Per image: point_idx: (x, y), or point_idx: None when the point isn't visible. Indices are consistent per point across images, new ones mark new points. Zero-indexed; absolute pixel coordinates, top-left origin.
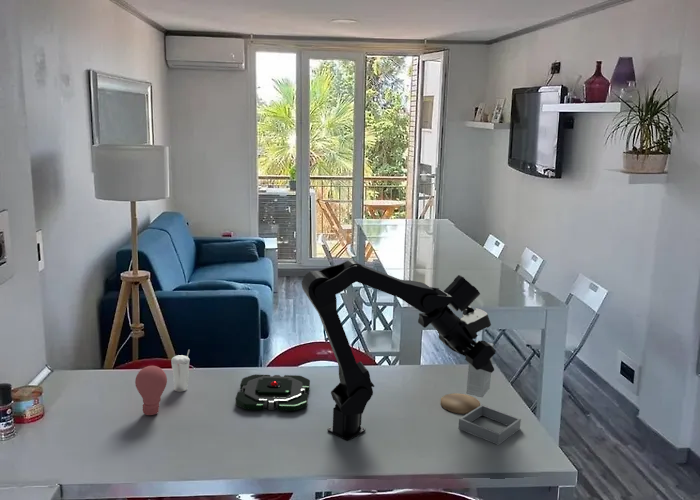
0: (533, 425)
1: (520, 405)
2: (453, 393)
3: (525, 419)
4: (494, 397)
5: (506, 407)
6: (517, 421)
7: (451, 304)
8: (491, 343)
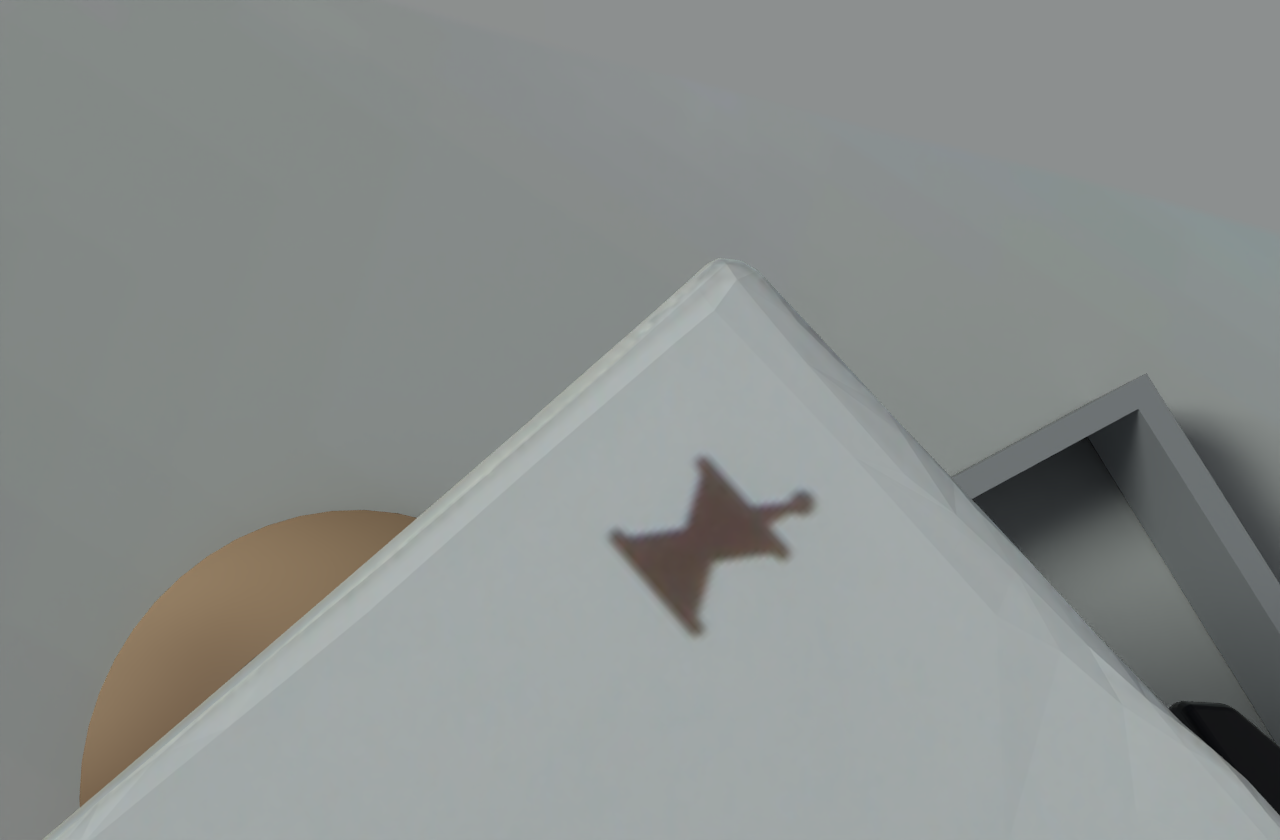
0: (1051, 208)
1: (593, 66)
2: (89, 730)
3: (906, 209)
4: (318, 233)
5: (589, 245)
6: (1191, 450)
7: None
8: (688, 362)
